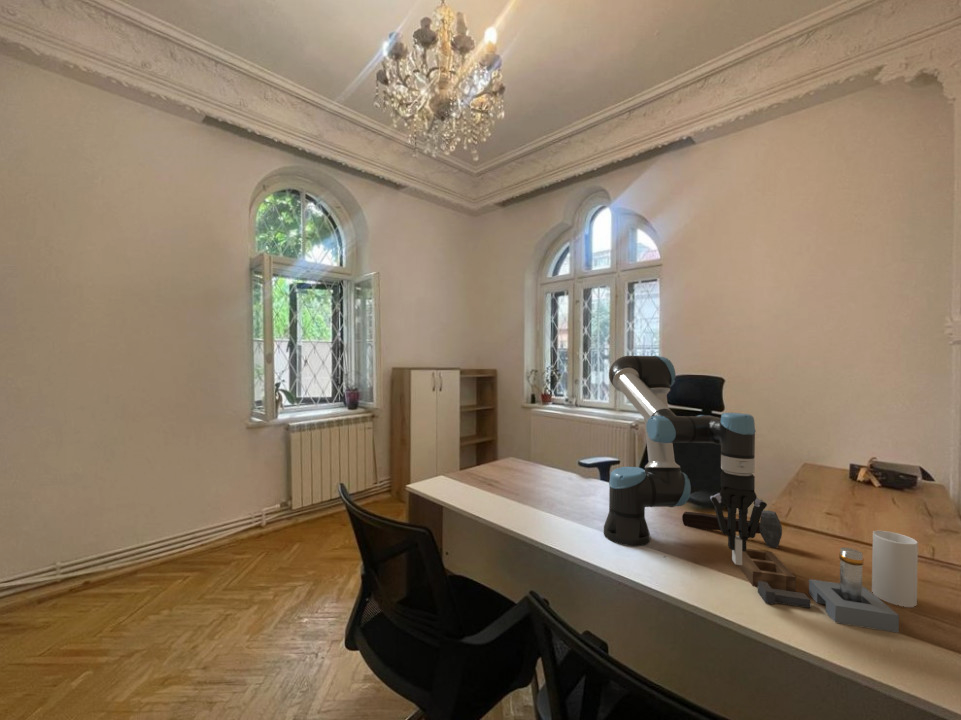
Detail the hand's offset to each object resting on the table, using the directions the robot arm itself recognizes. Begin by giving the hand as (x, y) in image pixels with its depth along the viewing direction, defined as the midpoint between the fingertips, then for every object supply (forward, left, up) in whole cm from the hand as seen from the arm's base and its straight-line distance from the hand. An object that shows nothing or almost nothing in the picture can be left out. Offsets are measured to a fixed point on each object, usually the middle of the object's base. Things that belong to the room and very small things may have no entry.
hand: (737, 562), depth 105 cm
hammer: (+10, +42, -9) cm, 44 cm away
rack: (+11, +14, -9) cm, 20 cm away
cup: (+40, +11, -9) cm, 42 cm away
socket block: (+25, 0, -9) cm, 26 cm away
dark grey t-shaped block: (+11, 0, -8) cm, 14 cm away
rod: (+25, 0, -9) cm, 26 cm away
